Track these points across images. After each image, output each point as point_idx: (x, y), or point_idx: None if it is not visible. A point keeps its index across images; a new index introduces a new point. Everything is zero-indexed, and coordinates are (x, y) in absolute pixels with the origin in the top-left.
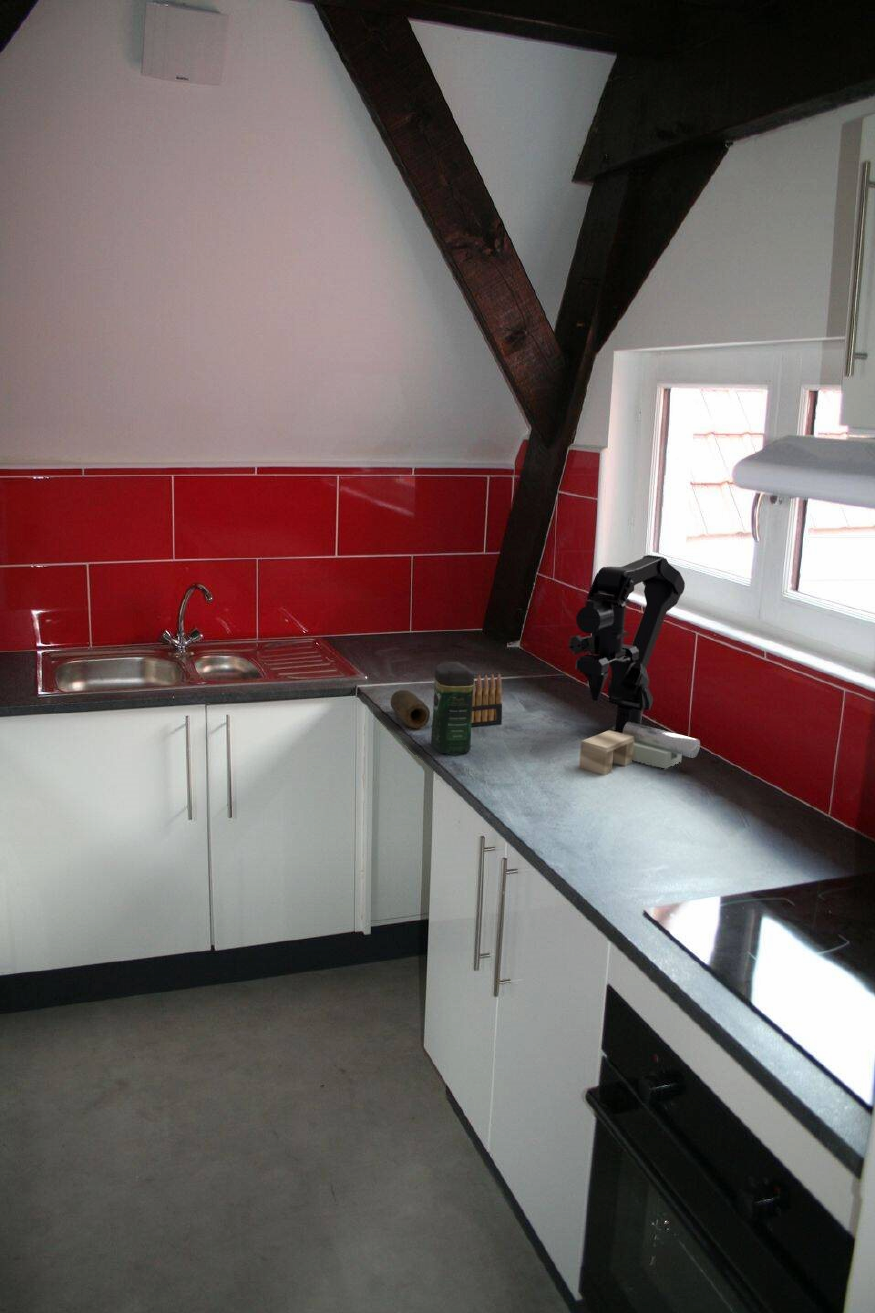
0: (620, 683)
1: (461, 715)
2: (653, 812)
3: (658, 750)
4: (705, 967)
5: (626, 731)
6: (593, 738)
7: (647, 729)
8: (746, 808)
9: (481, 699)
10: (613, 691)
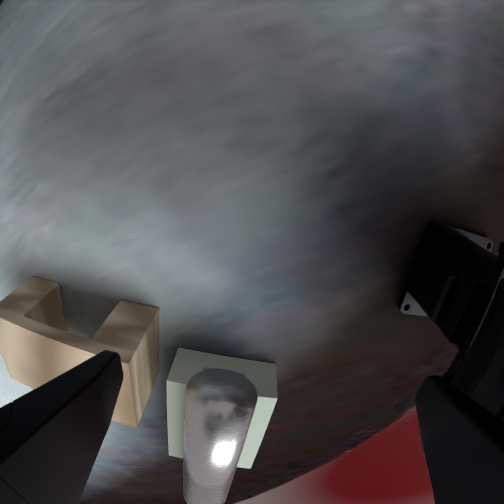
0: (428, 463)
1: None
2: None
3: (174, 444)
4: None
5: (185, 401)
6: (22, 337)
7: (196, 458)
8: (124, 486)
9: None
10: (423, 384)
